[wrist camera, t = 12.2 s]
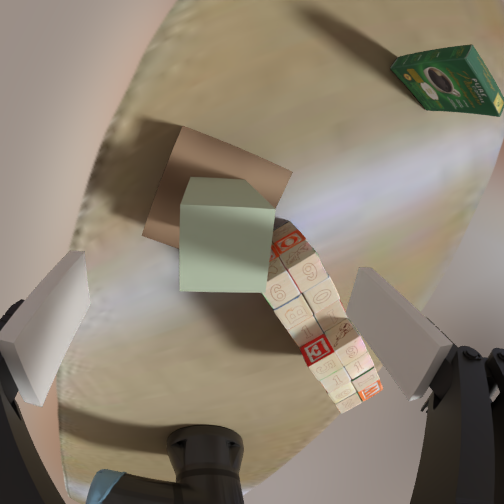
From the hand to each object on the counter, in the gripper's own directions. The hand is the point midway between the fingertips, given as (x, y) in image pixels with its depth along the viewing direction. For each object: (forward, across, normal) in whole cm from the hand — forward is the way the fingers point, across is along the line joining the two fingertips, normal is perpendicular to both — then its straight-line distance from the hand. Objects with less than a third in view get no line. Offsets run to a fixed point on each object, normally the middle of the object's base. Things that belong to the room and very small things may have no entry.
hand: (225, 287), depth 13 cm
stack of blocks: (+20, -13, +12) cm, 27 cm away
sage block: (+15, 0, 0) cm, 15 cm away
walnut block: (+20, 0, 0) cm, 20 cm away
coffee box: (+20, -23, -18) cm, 36 cm away
